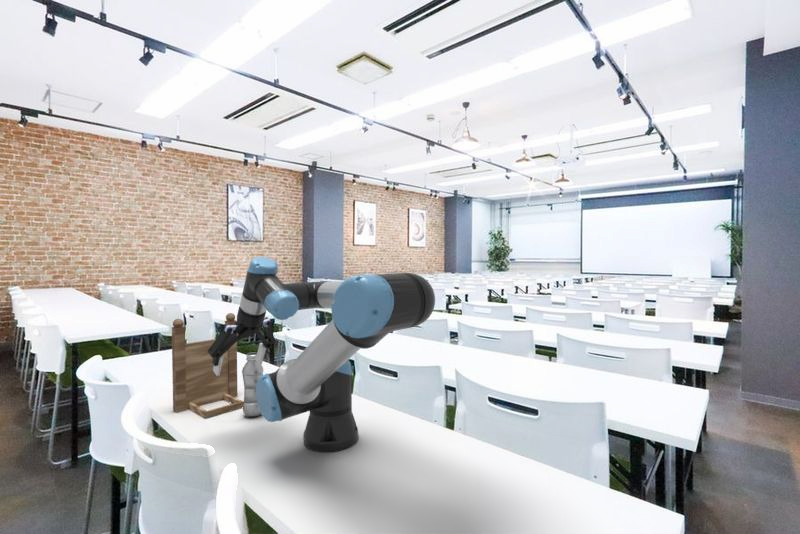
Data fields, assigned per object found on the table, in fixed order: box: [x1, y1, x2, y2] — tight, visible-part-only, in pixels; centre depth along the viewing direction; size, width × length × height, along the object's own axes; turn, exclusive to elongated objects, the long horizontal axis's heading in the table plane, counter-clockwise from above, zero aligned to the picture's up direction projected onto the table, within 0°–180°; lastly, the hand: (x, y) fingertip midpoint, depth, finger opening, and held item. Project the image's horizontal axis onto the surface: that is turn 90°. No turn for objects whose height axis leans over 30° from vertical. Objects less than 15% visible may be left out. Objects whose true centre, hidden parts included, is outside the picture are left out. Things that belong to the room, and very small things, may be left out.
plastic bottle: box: [241, 352, 264, 418], centre depth 133 cm, size 6×7×20 cm
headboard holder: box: [171, 312, 244, 419], centre depth 140 cm, size 15×21×31 cm
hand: (238, 367), depth 125 cm, fingers open, 13 cm apart
